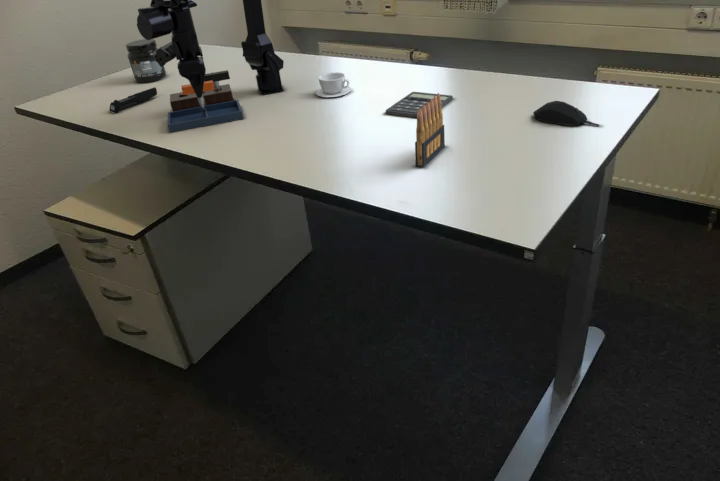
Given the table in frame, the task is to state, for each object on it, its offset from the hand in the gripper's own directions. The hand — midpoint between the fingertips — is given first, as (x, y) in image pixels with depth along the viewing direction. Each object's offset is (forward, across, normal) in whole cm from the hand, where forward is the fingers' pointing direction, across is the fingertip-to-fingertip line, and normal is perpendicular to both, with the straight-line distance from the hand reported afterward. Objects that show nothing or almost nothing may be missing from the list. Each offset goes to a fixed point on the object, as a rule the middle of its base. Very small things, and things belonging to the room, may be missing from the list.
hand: (199, 92), depth 143 cm
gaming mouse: (+8, +46, +78) cm, 91 cm away
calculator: (+7, +21, +53) cm, 57 cm away
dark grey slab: (+7, -10, +5) cm, 13 cm away
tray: (+7, 0, 0) cm, 7 cm away
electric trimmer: (+8, -25, -20) cm, 33 cm away
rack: (+7, -10, 0) cm, 12 cm away
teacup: (+8, -2, +36) cm, 37 cm away
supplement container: (+8, -52, -16) cm, 55 cm away
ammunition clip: (+8, +50, +44) cm, 67 cm away
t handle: (+7, 0, 0) cm, 7 cm away
